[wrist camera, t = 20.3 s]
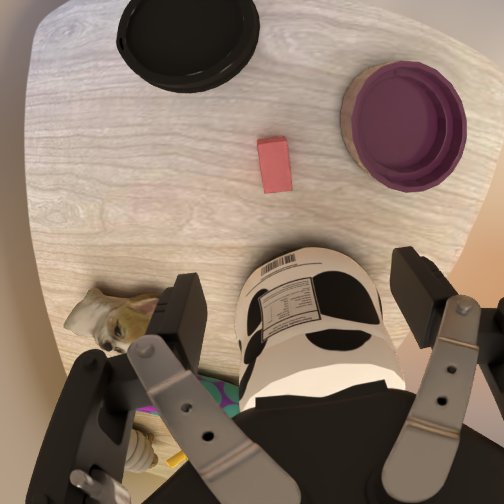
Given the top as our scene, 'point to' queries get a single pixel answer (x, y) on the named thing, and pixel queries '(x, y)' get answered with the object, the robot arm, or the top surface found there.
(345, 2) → the top surface
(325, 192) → the top surface
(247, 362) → the milk container
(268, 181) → the eraser
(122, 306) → the ceramic sculpture
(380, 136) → the bowl
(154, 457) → the toy sheep
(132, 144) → the top surface
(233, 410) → the pencil case
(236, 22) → the coffee cup
